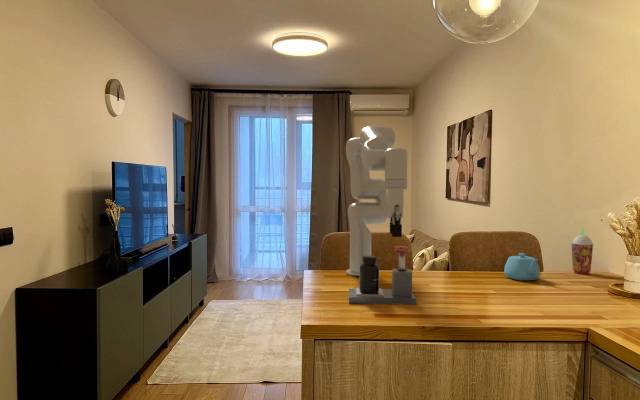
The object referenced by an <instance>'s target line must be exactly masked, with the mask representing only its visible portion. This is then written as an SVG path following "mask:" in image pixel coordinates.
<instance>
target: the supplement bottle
mask: <svg viewBox="0 0 640 400" xmlns="http://www.w3.org/2000/svg"><path fill="white" fill-rule="evenodd" d="M377 260H378V259H377V256H375V255H371V256H363V260H362V262H363V264H361V265H360V271H359V279H358V280H359V281H358V283H359V286H358V288H359V290H360V291H361V292H364V293H376V292H378V291H379V288H380V265H379V264H377V262H378V261H377Z"/></svg>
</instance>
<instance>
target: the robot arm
mask: <svg viewBox="0 0 640 400" xmlns="http://www.w3.org/2000/svg"><path fill="white" fill-rule="evenodd" d="M395 142H396V132H395V131H394V130H393V128H392V127H390V126H381V125H380V126H379V125H378V126H376V125H372V126H371V125H369V126H366V127H363V128H362V129H361V130H360V132H359V135H358V137H352V138H350V139H348V140H346V144H345V156H346V159H347V162H348V166H349V169H350V170H349V171H350V172H349V173H350V176H349V177H350V192H351V193H350V194H351V197H352V198H353V199H355V200H374V201H375V202H368V201H366V202H364V201H363V202H362V201H361V202H354V203H351V204H350V205H349V206H348V208H347V216H348V225H349V269H346V274H347V275H349V276H356V277H357V276H359V271H360V265H361V264H363V262H362V260H363V256H372V233H371V231H370V229H369V228H368V226H367V225H370V224H371V225H372V224H373V225H377V224H379V225H380V224H381V225H382V224H383V223H386V221H387V219H389V221H390V222H389V234H390V235H391V237H393V238H401V237H402V235H403V232H402V231H403V227H402V226H403V225H402V219H403V217H404V205H405V203H404V201H405V200H404V199H405V198H404V196H405V194H404V191H405V190H408V150H406V148H402V147H393V146H394V145H395ZM371 171H373V172H375V171H376V172H379V171H380V172H381V171H382V172H383V171H384V179H382V178H376V177H371V176H370V172H371Z"/></svg>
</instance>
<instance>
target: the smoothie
mask: <svg viewBox="0 0 640 400" xmlns="http://www.w3.org/2000/svg"><path fill="white" fill-rule="evenodd" d="M570 246H571V260H572V262H571V263H572V270H573V273H575V274H577V275H586V276H587V275H590V272H591V271H592V270H591V269H592V262H593V261H592V260H593V259H592V257H593V248H594V243H593V241H592V239H591V238H590V237H589V236H588V235H585V234H584V228H581V234H579V235H576V236H575V237H574V238H573V239H572V240H571V245H570Z"/></svg>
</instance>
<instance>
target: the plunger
mask: <svg viewBox="0 0 640 400" xmlns="http://www.w3.org/2000/svg"><path fill="white" fill-rule="evenodd" d="M394 252H395V253H398V269H399V271H405V269H406V253H410V246H406V245H397V246H396V245H395V246H394Z"/></svg>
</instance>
